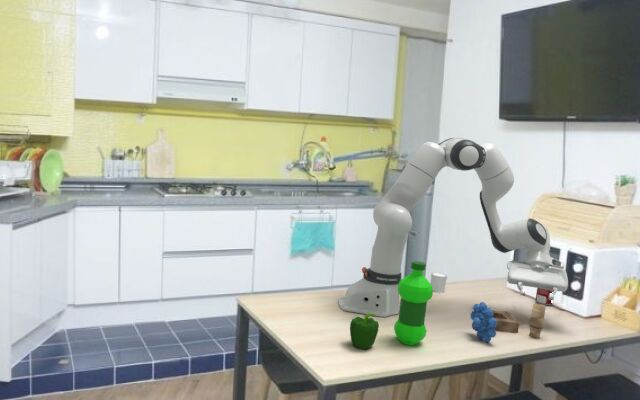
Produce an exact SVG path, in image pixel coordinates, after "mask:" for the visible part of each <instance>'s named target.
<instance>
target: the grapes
mask: <svg viewBox="0 0 640 400" xmlns="http://www.w3.org/2000/svg"><path fill="white" fill-rule="evenodd" d="M472 309H473V310H472V311H471V312H470V319H471V320H472V323H471V328H472V330H474V331H475V332H476V337H477V338H478V339H479V340H484V342H486V343H489V342H491V341H492V339H493V338H495V337H496V336H497V331H496V330H495V329H494V328H495V327H496V326H497V321H496V320H495V318H493V317H492V316H493V309H492V308H490V307H488V305H487V304H486V302H484V301H480V302H479V303H474V304H473V307H472Z"/></svg>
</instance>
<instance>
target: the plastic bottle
mask: <svg viewBox="0 0 640 400" xmlns="http://www.w3.org/2000/svg"><path fill="white" fill-rule="evenodd" d="M426 266H427V264H426V262H423V261H419V260H417V261H416V260H413V261H411V265H410V268H411V269H412V270H411V273H409V274H407V275H406V276H404V277H402V278H401V280H400V282H399V284H398V293H399V297H400V301H399V305H400V310H399V313H398V316H397V317H398V318H397V320H396V321H395V323H394V325H393V330H394V334H395V335H396V337H397V339H398V340H399V341H400V342H401V343H402V344H404V345H408V346H415V345H417V344H418V343H420V342H421V341H423V340H424V339H425V337H426V335H427V329H426V326H425V319H426V312H427V307H428V306H427V305H428V301H430V300H432V296H433V293H434V292H433V288H432V285H431V282H430V281H429V280H428V279H427V278H426V276H425V275H424V271H426Z"/></svg>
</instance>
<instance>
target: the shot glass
mask: <svg viewBox="0 0 640 400" xmlns="http://www.w3.org/2000/svg"><path fill="white" fill-rule="evenodd" d="M447 280H448V274H444V273H441V272H431V273H430V284H431V285H432V288H433V291H434V292H433V293H437V292H443V293H444V292H445V288H446V284H447Z"/></svg>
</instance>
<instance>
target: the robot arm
mask: <svg viewBox="0 0 640 400" xmlns="http://www.w3.org/2000/svg"><path fill="white" fill-rule="evenodd" d="M445 167H448V168H451V169H453V170H457V171H463V172H464V171H465V172H466V171H467V172H468V171H471V170H474V171H475V172H476V174H477V177H478V178H479V180H480V182H481V190H480V192H479V201H480V206H481V209H482V211H483V215H484V218H485V219H484V220H485V221H486V224H487V227H488V231H489V235H490V239H491V244H492V246H493V248H494V249H495V250H497V251H498V252H501V253H502V254H507V253H509V252H513V251H514V250H518V249H523V248H524V249H525V253H524V261H519V260H514V259H513V260H512V259H511V260H510V261H508V262H507V265H506V267H507V268H506V269H507V270H508V272H507V276H506V282H507V283H508V284H510V285H516V286H517V289H518V290H519V292H520V293H519V294H520V295H519V296H522V297H523V296H526V289H525V288H523V287H528V288H529V287H530V288H541V289H548V290H552V292H553V293H552V294H551V293H550V294H549V300H553V301H554V299H555V295H556V293H557V292H560V293H561V292H562V293H565V292H566V291H567V290H568V287H569V278H568V274H567V271H566V270H565V269H564V268H565V263H564V262H563V261H561V260H558V259H557V258H554V257H553V256H552V257H551V254H550V250H551V239H550V233H549V229H548V228H547V226H546V225H544V224H542V223H541V222H540V221H537V220H536V219H535V218H525V219H522V220H519V221H515V222H511V223H508V224H504V223H502V221H501V219H500V216H499V212H498V209H497V205H496V204H497V203H498V202H499V200H501V199H502V198H503V197H504V196H505V195H507V194H508V193H509V191H511V189H512V187H513V185H514V182H515V177H514V176H515V175H514V174H513V170H512V168H511V167H510V165H509V163H508V161H507V159H506V158H505V157H504V155H503V153H502V152H501V150H500V149H499V148H498V147H497V145H495V143H493V142H492V143H491V142H484V143H481V144H478V143H477V142H475V141H473V140H470V139H466V138H462V137H449V138H447V139H444V140H443V141H442V142H440V143H436V142H432V141H426V142H424V143H422V144H421V146H419V148H417V150H416V151H415V152H414V153H413V154H412V156H411V157H410V159H409V160H408V162H407V163H406V165H405V167H404V168H403V170H402V172H401V173H400V175H399V176H398V177H397V179H396V181H395V182H394V183H393V185H392V186H391V187H390V188H389V189H388V190H387V192H386V193H385V194H384V195H383V196H382V198H381V199H380V201H379V202H378V203H377V204H375V206H374V209H373V213H372V215H373V221H374V223H375V224H376V226H377V232H376V235H375V239H374V240H375V241H374V244H373V245H372V247H371V249H372V250H371V256H370V257H371V259H370V265H369V268H367V267H365V266H364V267H362V268H361V272H362V273H363V277H362V278H361V279H359V280H358V281H355V282H354V283H352V284H350V285H349V286H348V287H347V290H346V293H345V295H344V296H342V297H339V299H338V307H339V308H340V310H343V311H345V312H350V313H356V314H363V315H367V314H368V313H373V314H374V316H375V317H380V318H381V317H382V318H388V317H389V316H393V315H399V310H400V295H399V293H398V284H399V282H400V280H402V279H403V276H402V272H401V271H402V264H403V255H404V250H405V246H406V244H407V241H408V237H409V233H410V231H411V229H412V227H413V218H412V215H411V214H410V212H411V210H412V209H413V208H414V207H416V205H417V204H418V203H419V202H420V201H422V199H424V197H425V195H426V193H427V192H428V190H429V189H430V187H431V186H432V184H433V183H434V181H435V179H436V178H437V176H438V175H439V173H440V172H441V170H443V169H444V168H445ZM374 316H373V317H374Z"/></svg>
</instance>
